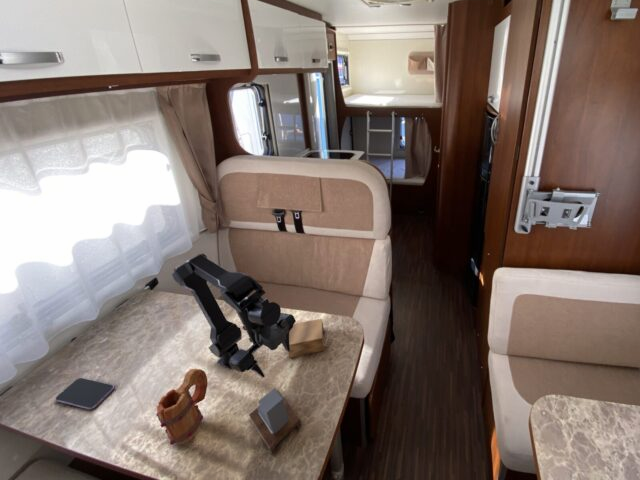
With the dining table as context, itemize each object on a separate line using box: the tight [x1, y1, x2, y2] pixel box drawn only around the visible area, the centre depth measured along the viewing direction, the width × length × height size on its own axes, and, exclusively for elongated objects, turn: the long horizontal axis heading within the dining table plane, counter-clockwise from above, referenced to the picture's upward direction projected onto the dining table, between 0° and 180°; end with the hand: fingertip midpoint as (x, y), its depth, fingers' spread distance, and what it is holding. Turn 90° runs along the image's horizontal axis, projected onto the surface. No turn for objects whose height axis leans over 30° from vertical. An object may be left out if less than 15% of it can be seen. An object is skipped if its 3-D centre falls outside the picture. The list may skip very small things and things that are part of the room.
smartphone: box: [54, 377, 115, 411], centre depth 95 cm, size 7×1×15 cm
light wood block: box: [287, 318, 325, 359], centre depth 107 cm, size 12×9×6 cm
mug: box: [155, 368, 209, 446], centre depth 83 cm, size 15×8×15 cm, turn 168°
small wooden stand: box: [248, 390, 302, 455], centre depth 84 cm, size 12×9×3 cm
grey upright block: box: [256, 387, 289, 435], centre depth 82 cm, size 8×5×10 cm, turn 47°
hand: (276, 363), depth 86 cm, fingers open, 9 cm apart
